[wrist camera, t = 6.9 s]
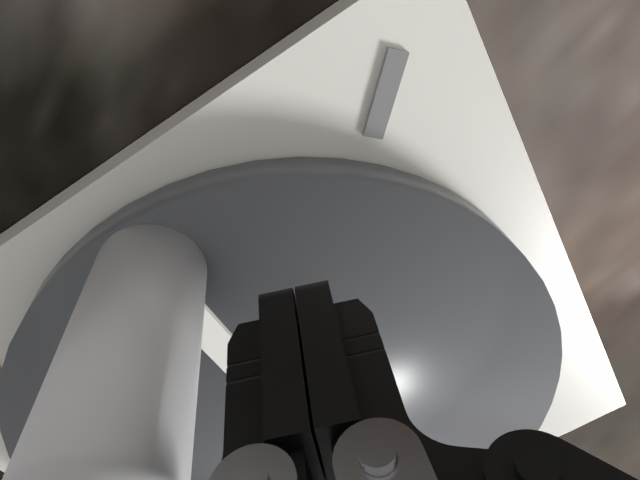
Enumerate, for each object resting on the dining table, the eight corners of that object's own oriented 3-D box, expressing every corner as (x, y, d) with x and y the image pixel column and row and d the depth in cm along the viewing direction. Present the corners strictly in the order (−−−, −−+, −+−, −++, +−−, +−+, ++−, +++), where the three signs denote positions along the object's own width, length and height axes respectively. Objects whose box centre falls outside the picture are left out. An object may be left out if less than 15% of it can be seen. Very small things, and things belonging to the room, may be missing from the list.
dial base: (606, 380, 25) (629, 407, 24) (228, 565, 29) (228, 598, 28) (423, -59, 14) (446, -58, 12) (-152, 339, 18) (-186, 375, 16)
